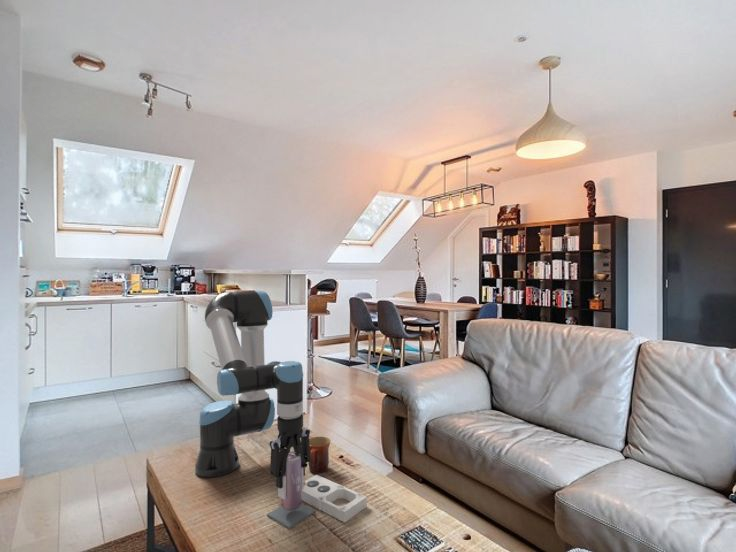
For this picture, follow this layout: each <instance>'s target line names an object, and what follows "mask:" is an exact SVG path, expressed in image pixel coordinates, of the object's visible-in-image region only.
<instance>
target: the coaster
mask: <svg viewBox="0 0 736 552" xmlns="http://www.w3.org/2000/svg"><path fill="white" fill-rule="evenodd" d="M315 513H316V510H315V509H313V508H311V507H309V506H307V505H306V504H303V503H301V505H300V507H299V508H298V509H296V510H292V511H287V510H284V509H283V508H282V506H281V505H280V506H279V507H277V508H275V509H274V510H272V511H270V512H268V513H267V514H266V516H267V517H268V518H270V519H271V520H273V521H275V522H276V523H278V524H280V525H281V526H283V527H285V528H286V529H288V530H290V529H293V527H295V526H297V525H299V524H300V523H302V522H303V521H305V520H306V519H308V518H309V517H312V515H314V514H315Z"/></svg>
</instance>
